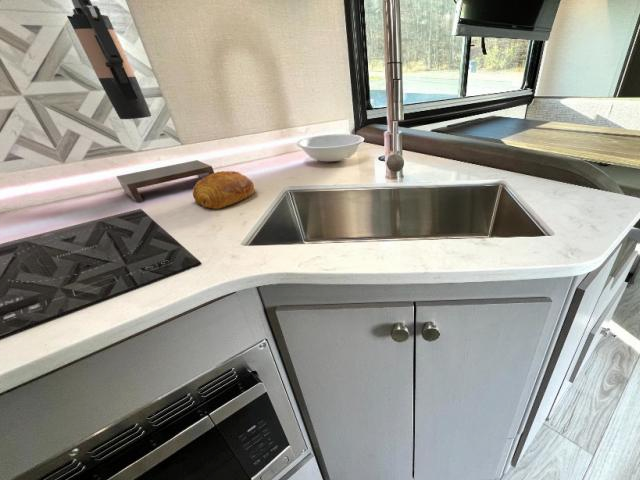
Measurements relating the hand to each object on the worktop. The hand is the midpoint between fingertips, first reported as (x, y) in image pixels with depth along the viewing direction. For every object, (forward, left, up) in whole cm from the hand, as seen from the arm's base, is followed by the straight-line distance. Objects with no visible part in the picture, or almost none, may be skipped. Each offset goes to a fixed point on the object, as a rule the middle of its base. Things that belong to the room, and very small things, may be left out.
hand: (127, 98), depth 81 cm
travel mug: (0, 0, -4) cm, 4 cm away
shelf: (0, +1, -23) cm, 23 cm away
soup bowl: (+38, +37, -23) cm, 58 cm away
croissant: (+23, -6, -23) cm, 34 cm away
